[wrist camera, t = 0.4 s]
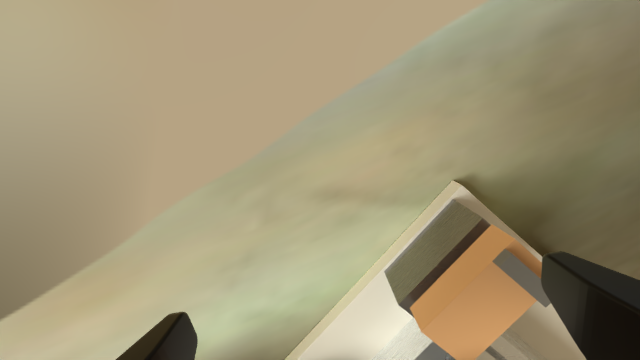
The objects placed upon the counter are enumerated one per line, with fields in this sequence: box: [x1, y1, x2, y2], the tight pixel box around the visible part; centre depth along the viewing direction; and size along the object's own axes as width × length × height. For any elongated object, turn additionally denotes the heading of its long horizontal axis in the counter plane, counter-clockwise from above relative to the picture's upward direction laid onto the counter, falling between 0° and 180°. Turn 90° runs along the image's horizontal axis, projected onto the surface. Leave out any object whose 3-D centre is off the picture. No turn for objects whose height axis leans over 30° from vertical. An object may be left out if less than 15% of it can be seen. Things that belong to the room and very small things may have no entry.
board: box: [285, 180, 587, 360], centre depth 25 cm, size 19×18×2 cm
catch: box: [410, 224, 551, 360], centre depth 17 cm, size 6×3×3 cm, turn 140°
